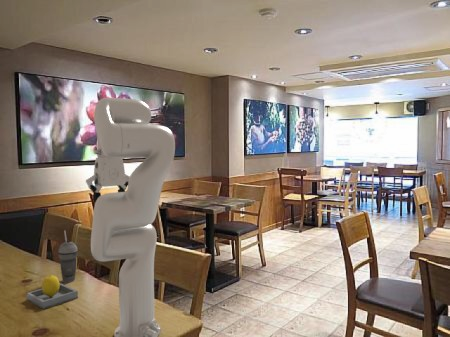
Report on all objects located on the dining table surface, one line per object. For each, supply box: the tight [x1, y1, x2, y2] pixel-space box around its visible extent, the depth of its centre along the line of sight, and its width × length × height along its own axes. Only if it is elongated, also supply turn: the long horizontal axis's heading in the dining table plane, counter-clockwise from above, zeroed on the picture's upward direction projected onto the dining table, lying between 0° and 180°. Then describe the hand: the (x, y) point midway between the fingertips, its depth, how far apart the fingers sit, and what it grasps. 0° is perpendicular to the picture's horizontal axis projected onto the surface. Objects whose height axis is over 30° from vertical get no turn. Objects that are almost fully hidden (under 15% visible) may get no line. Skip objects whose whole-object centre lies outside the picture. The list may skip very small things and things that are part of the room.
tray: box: [26, 282, 79, 310], centre depth 131 cm, size 12×12×2 cm
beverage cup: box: [57, 230, 79, 283], centre depth 149 cm, size 7×7×20 cm
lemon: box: [41, 274, 60, 298], centre depth 131 cm, size 6×6×8 cm
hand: (109, 202), depth 133 cm, fingers open, 9 cm apart
